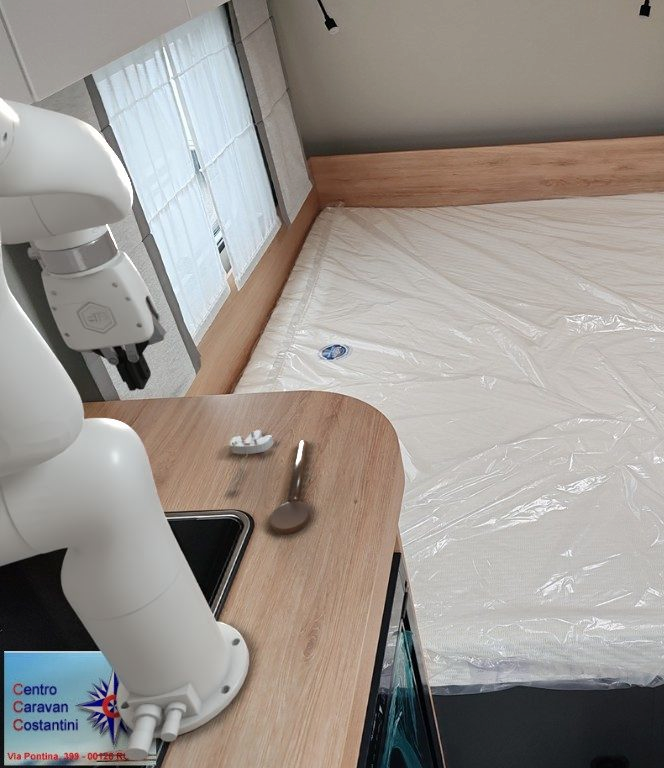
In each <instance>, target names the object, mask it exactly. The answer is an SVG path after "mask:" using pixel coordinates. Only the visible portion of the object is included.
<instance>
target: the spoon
mask: <svg viewBox="0 0 664 768" xmlns="http://www.w3.org/2000/svg"><path fill="white" fill-rule="evenodd" d="M308 451H309V442H308V441H307V440H305V439H304V440H300V441H299V442H298V444H297V447H296V453H295V459H294V464H293V469H292V474H291V480H290V484H289V485H290V486H289V491H288V495H287V502H285V503H283V504H281V505H280V506H278V507H277V508H276V509H274V511H273V512H272V513H271V515H270V525H271V528H272V529H273V530H274V532H276V533H277V534H281V535H291V534H295V533H298V532H300V531H302V530H303V529H305V528H306V527H307V526H308V525H309V523H310V522H311V518H312V513H311V510H310V507H309V505H308V504H306V503H305V502H303V501H300V497H301V492H302V485H303V480H304V474H305V468H306V462H307V457H308Z"/></svg>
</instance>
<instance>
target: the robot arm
mask: <svg viewBox="0 0 664 768" xmlns="http://www.w3.org/2000/svg"><path fill="white" fill-rule="evenodd" d="M133 201H134V195H133V188H132V185H131V181H130V178H129V177H128V174H127V172H126V170H125V168H124V166H123V164H122V162H121V160H120V159H119V158H118V156H117V155H116V153H115V152H114V150H113V149H112V148H111V147H110V145H109V144H108V143H107V141H106V140H105V138H104V137H103V136H102V135H101V134H100V133H99V132H98V131H97V129H95V128H94V127H93V126H92V125H90V124H88V123H87V122H85V121H84V120H81V119H79V118H77V117H75V116H71V115H69V114H66V113H62V112H58V111H54V110H50V109H46V108H42V107H39V106H35V105H31V104H27V103H23V102H18V101H14V100H9V99H5V98H2V97H1V96H0V567H2V566H6V565H10V564H11V563H12V564H13V563H15V562H18V561H22V560H25V559H29V558H32V557H35V556H37V555H41V554H47V553H51V552H54V551H58V550H61V549H67V550H66V551H65V555H64V558H63V561H62V565H61V571H60V582H61V588H62V592H63V595H64V596H65V599H66V600H67V602H68V603H69V605H70V607H71V608H72V609H73V611H74V612H75V614H76V616H77V617H78V618H79V620H80V621H81V623H82V624H83V625H82V626H84V628H85V629H86V631H87V632H88V634H89V635H90V637H91V638H92V640H93V641H94V643H95V645H96V646H97V648H98V649H99V651H100V652H101V654H102V655H103V657H104V658H105V660H106V662H107V663H108V665H109V666H110V667H111V669H112V670H113V672H114V673H115V676H116V677H117V678H118V680H119V683H118V686H117V690H116V697H115V701H116V709H117V711H118V714H119V716H120V718H121V720H122V721H123V722H124V724H125V725H126V727H128V728H129V729H130V730H131V731H132V733H130V736H129V740H128V743H127V746H126V749H125V752H124V756H125V757H126V758H127V759H129V760H131V761H143V760H144V759H147V758H148V756H149V753H150V751H151V747H152V743H153V739H161V740H162V741H163V742H174V741H176V739H177V737H178V736H180V735H183V734H186V733H189V732H192V731H194V730H196V729H198V728H199V727H201V726H203V725H205V724H206V723H208V722H209V721H211V720H212V719H213V718H215V717H216V716H218V715H220V714H221V712H222V711H223V710H224V709H226V708H227V707H228V706H229V704H230V703H231V702H232V701H233V699H235V697H236V696H237V694H238V693H239V691H240V689H241V688H242V687H243V685H244V683H245V680H246V677H247V675H248V672H249V666H250V652H249V649H248V645H247V643H246V641H245V640H244V637H243V635H241V633H240V632H239V631H238V630H237V629H236V628H235V627H233V626H231V625H230V624H227V623H224V622H221V621H217V620H216V618H215V616H214V614H213V612H212V610H211V607H210V606H209V603H208V602H207V600H206V597H205V595H204V594H203V591H202V590H201V587H200V586H199V583H198V582H197V579H196V577H195V575H194V573H193V571H192V569H191V567H190V565H189V563H188V561H187V559H186V556H185V555H184V553H183V551H182V549H181V547H180V545H179V543H178V541H177V539H176V537H175V535H174V532H173V530H172V528H171V525H170V523H169V521H168V519H167V517H166V515H165V514H166V513H165V511H164V509H163V506H162V504H161V500H160V497H159V494H158V491H157V486H156V483H155V478H154V475H153V471H152V467H151V463H150V459H149V456H148V454H147V450H146V448H145V445H144V443H143V441H142V439H141V438H140V436H139V435H138V433H137V432H136V431H135V430H134V429H133V428H132V427H131V426H129V425H128V424H126V423H125V422H122V421H120V420H117V419H113V418H108V417H107V418H106V417H88V418H85V411H84V405H83V401H82V398H81V395H80V393H79V391H78V389H77V387H76V385H75V384H74V382H73V380H72V379H71V377H70V376H69V374H68V372H67V370H66V369H65V368H64V366H63V364H62V363H61V362H60V360H59V359H58V357H57V356H56V355H55V353H54V352H53V350H52V349H51V348H50V346H49V345H48V343H47V342H46V341H45V339H44V338H43V336H42V335H41V333H40V332H39V331H38V329H37V328H36V326H35V325H34V324H33V323H32V321H31V319H30V318H29V316H28V315H27V313H25V311H24V310H23V308H22V306H21V305H20V303H19V302H18V301H17V299H16V298H15V296H14V295H13V294H12V291H11V290H10V288H9V285H8V281H7V278H6V275H5V271H4V263H3V250H2V245H18V244H23V243H24V244H25V243H30V242H33V243H34V246H32V247H28V248H27V256H28V258H29V259H30V260H32V261H33V260H38V261H41V263H42V265H43V267H44V269H42V271H41V273H40V274H41V280H42V285H43V289H44V293H45V296H46V299H47V303H48V305H49V308H50V311H51V315H52V316H53V319H54V321H55V324H56V327H57V329H58V331H59V333H60V336H61V337H62V340H63V341H64V343H65V344H66V346H67V347H68V348H70V349H72V350H74V351H75V352H78V353H89V354H92V353H94V354H95V355H97V356H100V357H101V358H104V359H105V360H106V361H107V362H108V363H109V364H110V365H112V366H115V368H116V370H117V372H118V375H119V376H120V379H121V381H122V382H123V383H125V384H126V386H127V389H128V391H130V392H134V391H136V390H139V391H140V390H145V388H146V386H147V383H148V382H149V379H150V378H151V376H152V372H151V369H150V366H149V364H148V362H147V360H146V358H145V356H144V354H143V353H144V352H145V351H146V349H147V347H148V346H150V345H151V346H152V345H155V344H158V343H160V342H162V341H164V339H165V337H166V335H167V330H165V328H164V327H163V325H162V324H161V323H160V321H161V317H160V313H159V310H158V307H157V305H156V302H155V300H154V298H153V296H152V294H151V293H150V292H151V291H150V290H149V288H148V286H147V285H146V283H145V281H144V279H143V278H142V275H141V274H140V272H139V271H138V269H137V268H136V266H135V264H134V263H133V261H132V260H131V259H130V257H129V256H128V255H127V253H126V252H125V251H121V250H120V251H119V249H118V246H117V244H116V241H115V238H114V237H113V234H112V232H111V229H110V227H109V226H108V225H113V224H116V223H119V222H121V221H123V220H124V219H126V217H128V215H130V213H131V211H132V207H133Z"/></svg>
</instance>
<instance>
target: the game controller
mask: <svg viewBox="0 0 664 768" xmlns="http://www.w3.org/2000/svg"><path fill="white" fill-rule="evenodd" d="M274 444H275V443H274V439H273V435H272V434H266V435H264V436H263V435H262V430H261V429H256V430H254V431H251V432H250V434H249V435H248V436H247V437H246V438H245V437H244V436H241V435H235V436H234V437H232V438H231V440H230V442H229V445H230V449H231V453H233V454H238V455H246V456H245V457H243V458H242V460H241V463H240V466H239V473H238V477H237V479H236V480H234V482H233V483H232V486H231V489H230V493H231V494H232V495H234V493H233V489H234V485H235V483H236V482H238V480H239V479H240V478H241V477H240V476H241V473H242V464H243V462H244V460H245V459H246V458H247V457H248V455H249V454H250V455H251V454H258V453H263V452H266V451H268V450H270V449H271V447H272V446H273V445H274Z"/></svg>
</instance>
